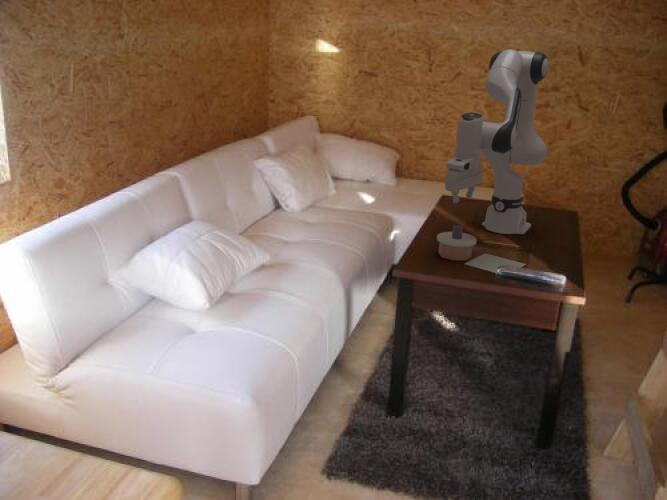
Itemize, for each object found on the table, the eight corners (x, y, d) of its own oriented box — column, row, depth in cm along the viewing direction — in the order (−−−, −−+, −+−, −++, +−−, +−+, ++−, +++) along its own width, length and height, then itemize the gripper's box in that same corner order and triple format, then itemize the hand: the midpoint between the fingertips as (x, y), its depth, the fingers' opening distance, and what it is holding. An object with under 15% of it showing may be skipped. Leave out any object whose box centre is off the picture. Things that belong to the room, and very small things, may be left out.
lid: (448, 232, 242) (450, 219, 240) (483, 241, 234) (484, 227, 232) (429, 240, 231) (431, 226, 230) (464, 249, 223) (466, 235, 221)
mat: (484, 254, 238) (485, 253, 237) (526, 265, 228) (526, 264, 228) (463, 265, 226) (464, 263, 226) (506, 277, 216) (506, 275, 216)
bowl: (448, 249, 242) (450, 234, 240) (475, 256, 235) (477, 241, 233) (433, 256, 234) (435, 240, 232) (460, 264, 227) (462, 247, 225)
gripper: (472, 156, 233) (468, 193, 237) (443, 163, 218) (440, 203, 222) (488, 158, 229) (484, 196, 234) (460, 166, 214) (456, 207, 219)
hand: (462, 200), depth 228 cm, fingers open, 8 cm apart
